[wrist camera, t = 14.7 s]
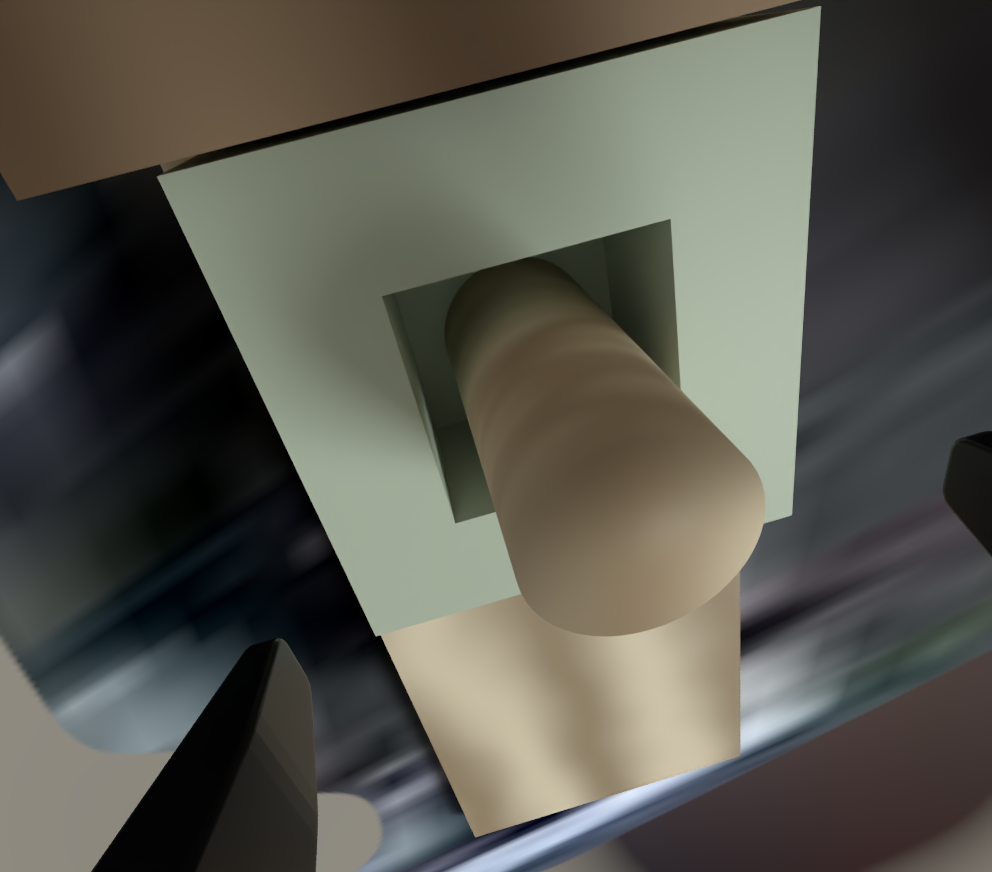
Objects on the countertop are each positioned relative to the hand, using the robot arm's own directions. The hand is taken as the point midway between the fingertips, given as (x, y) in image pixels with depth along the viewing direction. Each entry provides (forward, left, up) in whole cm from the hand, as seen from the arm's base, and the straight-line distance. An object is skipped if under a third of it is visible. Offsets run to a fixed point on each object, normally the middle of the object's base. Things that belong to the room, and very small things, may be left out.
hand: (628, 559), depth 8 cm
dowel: (0, 0, -8) cm, 8 cm away
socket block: (0, 0, -9) cm, 9 cm away
